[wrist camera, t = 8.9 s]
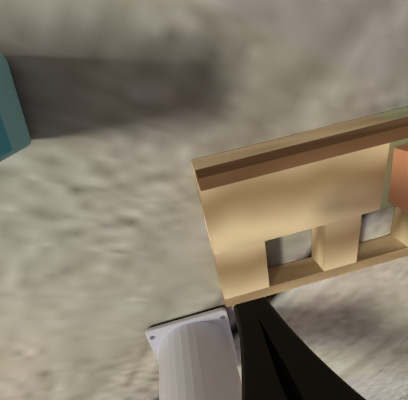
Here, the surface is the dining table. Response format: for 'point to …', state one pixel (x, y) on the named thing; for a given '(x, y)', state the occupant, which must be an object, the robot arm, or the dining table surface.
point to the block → (399, 178)
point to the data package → (10, 115)
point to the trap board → (301, 203)
